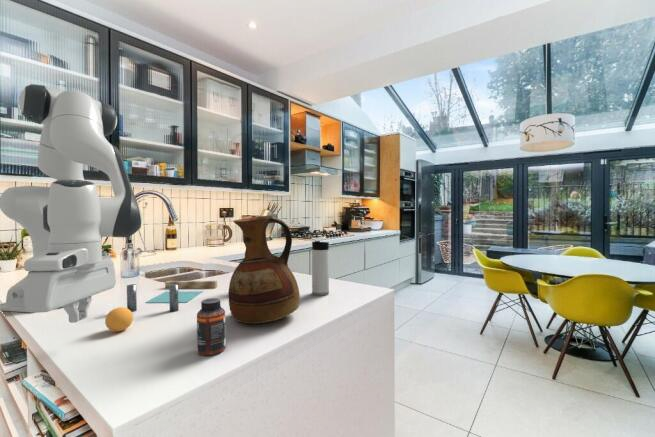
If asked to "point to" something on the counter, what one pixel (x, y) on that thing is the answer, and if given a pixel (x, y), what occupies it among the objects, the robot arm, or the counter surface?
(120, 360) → the counter surface
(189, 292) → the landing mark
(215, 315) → the supplement bottle
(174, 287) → the right post
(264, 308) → the ceramic pitcher
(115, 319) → the ball
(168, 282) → the stopper wall
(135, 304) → the left post
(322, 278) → the travel mug
